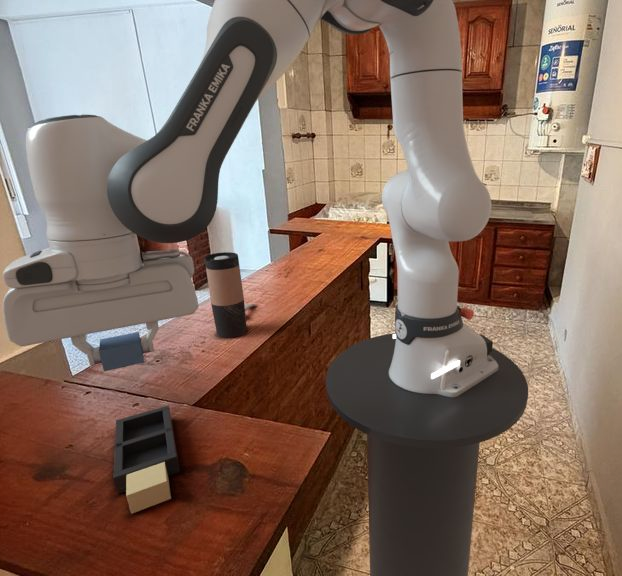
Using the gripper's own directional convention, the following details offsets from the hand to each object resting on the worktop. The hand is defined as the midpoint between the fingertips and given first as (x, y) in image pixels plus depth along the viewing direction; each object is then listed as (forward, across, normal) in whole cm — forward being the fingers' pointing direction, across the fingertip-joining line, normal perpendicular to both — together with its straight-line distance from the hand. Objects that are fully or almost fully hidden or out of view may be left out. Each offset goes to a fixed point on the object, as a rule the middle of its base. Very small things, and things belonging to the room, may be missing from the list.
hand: (123, 356), depth 54 cm
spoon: (+17, -27, -50) cm, 60 cm away
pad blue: (+1, 0, 0) cm, 1 cm away
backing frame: (+17, 0, -2) cm, 17 cm away
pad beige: (+17, 0, +8) cm, 19 cm away
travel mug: (+17, -21, -39) cm, 48 cm away
